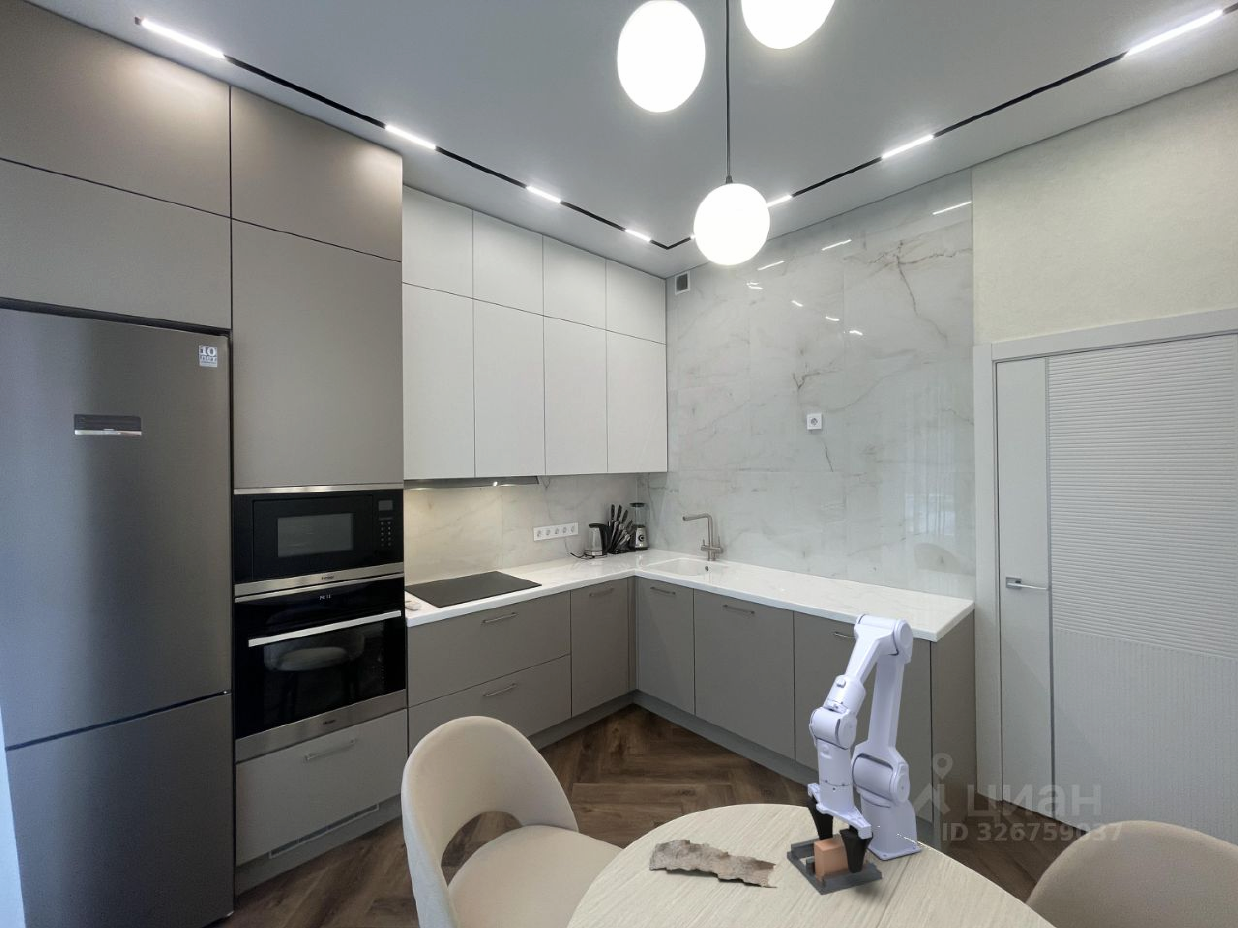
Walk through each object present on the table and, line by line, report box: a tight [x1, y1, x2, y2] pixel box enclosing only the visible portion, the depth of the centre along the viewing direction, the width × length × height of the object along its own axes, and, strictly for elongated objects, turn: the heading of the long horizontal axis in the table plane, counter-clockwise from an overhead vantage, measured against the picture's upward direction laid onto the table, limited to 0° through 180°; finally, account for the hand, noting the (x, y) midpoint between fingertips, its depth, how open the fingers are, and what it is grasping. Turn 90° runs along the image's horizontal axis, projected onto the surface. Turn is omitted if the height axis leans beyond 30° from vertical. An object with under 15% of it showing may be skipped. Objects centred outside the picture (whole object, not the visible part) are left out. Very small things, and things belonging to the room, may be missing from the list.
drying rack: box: [786, 833, 883, 896], centre depth 92 cm, size 13×10×2 cm
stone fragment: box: [648, 839, 778, 889], centre depth 93 cm, size 25×3×10 cm
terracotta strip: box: [814, 836, 867, 883], centre depth 90 cm, size 9×2×6 cm, turn 106°
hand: (840, 856), depth 91 cm, fingers open, 7 cm apart
